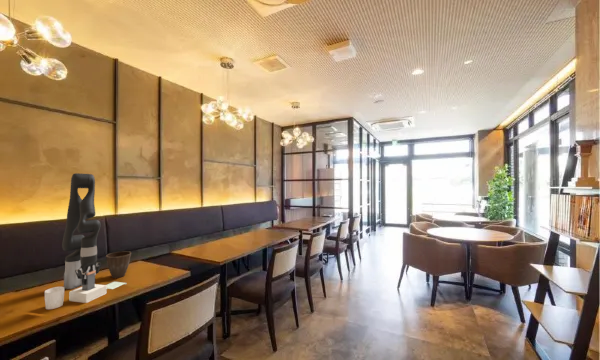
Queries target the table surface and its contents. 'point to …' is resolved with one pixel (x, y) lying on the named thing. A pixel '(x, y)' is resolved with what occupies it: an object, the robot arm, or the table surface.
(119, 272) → the plant pot
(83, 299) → the block
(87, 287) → the plug
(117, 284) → the mat
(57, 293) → the white cup
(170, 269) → the table surface
